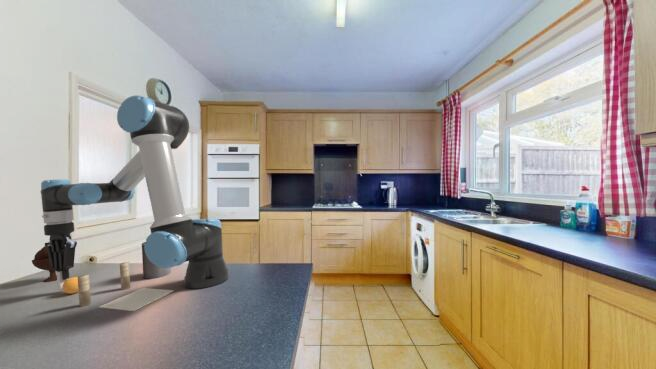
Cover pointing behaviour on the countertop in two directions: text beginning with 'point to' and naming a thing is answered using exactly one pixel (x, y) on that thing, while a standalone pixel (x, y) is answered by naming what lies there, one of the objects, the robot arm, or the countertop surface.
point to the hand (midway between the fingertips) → (64, 288)
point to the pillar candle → (152, 268)
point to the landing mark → (136, 299)
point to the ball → (71, 285)
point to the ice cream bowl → (44, 264)
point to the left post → (84, 290)
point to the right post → (125, 275)
